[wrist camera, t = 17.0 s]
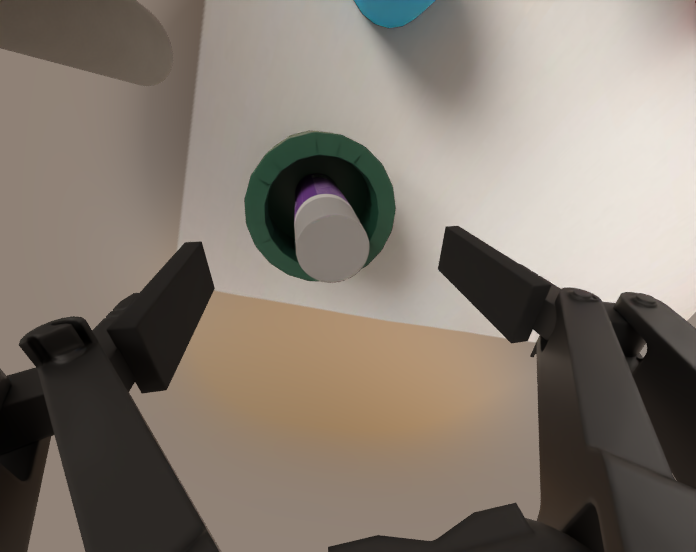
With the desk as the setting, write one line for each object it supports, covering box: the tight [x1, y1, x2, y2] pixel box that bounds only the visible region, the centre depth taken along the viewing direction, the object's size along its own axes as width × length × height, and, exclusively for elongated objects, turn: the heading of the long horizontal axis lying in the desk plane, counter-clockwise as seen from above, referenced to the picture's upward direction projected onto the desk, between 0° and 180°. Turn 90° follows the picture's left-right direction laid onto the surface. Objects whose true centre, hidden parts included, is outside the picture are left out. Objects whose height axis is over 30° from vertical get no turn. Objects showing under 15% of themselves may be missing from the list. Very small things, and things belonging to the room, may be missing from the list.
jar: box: [244, 131, 396, 281], centre depth 26 cm, size 12×12×9 cm
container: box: [294, 173, 369, 283], centre depth 23 cm, size 5×5×15 cm
